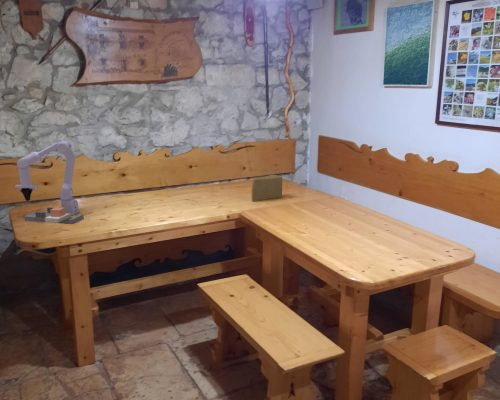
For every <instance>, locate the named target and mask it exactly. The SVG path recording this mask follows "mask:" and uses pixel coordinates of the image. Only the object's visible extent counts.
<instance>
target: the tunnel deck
mask: <svg viewBox="0 0 500 400" xmlns="http://www.w3.org/2000/svg"><path fill="white" fill-rule="evenodd" d="M53 208H54V207H53V206H52V207H49V206H48V207H46V211H38V210H37V211H34V212H32V213H30V214H27V215H24V216H23V217H24V221H25V220H26V221H27V222H40V223H50V224H51V223H52V224H65V225H73V224H75V223H77V222H80V221H82V220H84V218H85V217H84V214H78V215H76V216H73V217H71V216H72V215H70V214H69V213H66V214H65V215H63V216H61V217H51V212H50V210H51V209H53Z"/></svg>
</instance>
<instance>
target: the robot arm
mask: <svg viewBox="0 0 500 400" xmlns="http://www.w3.org/2000/svg"><path fill="white" fill-rule="evenodd" d="M52 152H53V153H54V152H55V153H57V152H59V153H60V154H62V155H63V157H65V158H66V162H65V171H64V176H63V183H62V187H61V190H60V192H59V198H60V206H61V207H65V211H66V213H69V214H70V216H74V215H76V214H78V213H80V209H79V201H78V200H77V199H74V197H73V193H74V191H73V176H74V170H75V166H76V165H75V164H76V159H77V158H76V155H77V154H76V153H75V151H74V149H73V146H72V144H71V143H70V142H69V141H67V140H61V141H58V142H55V143H53V144H51V145H49V146H47V147H45V148H43V149H42V150H40V151H38V152H37V151H30V153H29V154H27V155H23V157H22V158H19V159H18V160H17V161H16V166H17V167H18V175H19V182H20V184H16V185H14V188H15V189H20V192H21V193H22V195H23V197H24V199H25V202H29V201H30V200H31V195H32V192H33V191H34V190H35V191H36V190H38V185H35V184H34V185H33V184H32V181H31V180H32V179H31V172H30V167H29V166H31V165H33V164H35V163H37V162H39V161H41V158H42V157H44V156H45V155H48V154H50V153H52Z"/></svg>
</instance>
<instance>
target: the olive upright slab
mask: <svg viewBox="0 0 500 400" xmlns="http://www.w3.org/2000/svg"><path fill="white" fill-rule="evenodd" d="M282 197H283V176H281V175H277V174H270V175H266V176H262V177H255V178H253V179H252V180H251V202H260V201H266V200H273V199H279V198H282Z"/></svg>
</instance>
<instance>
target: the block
mask: <svg viewBox="0 0 500 400" xmlns="http://www.w3.org/2000/svg"><path fill="white" fill-rule="evenodd" d="M52 208H53V209H51V210H50V212H51V217H61V216H63V215H65V214H66V211H65V207H60V206H59V207H58V206H55V207H52Z"/></svg>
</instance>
